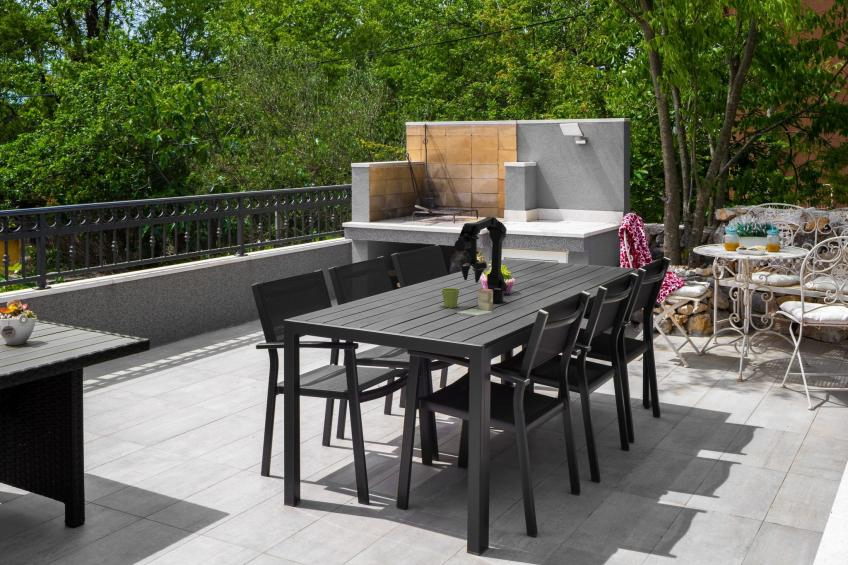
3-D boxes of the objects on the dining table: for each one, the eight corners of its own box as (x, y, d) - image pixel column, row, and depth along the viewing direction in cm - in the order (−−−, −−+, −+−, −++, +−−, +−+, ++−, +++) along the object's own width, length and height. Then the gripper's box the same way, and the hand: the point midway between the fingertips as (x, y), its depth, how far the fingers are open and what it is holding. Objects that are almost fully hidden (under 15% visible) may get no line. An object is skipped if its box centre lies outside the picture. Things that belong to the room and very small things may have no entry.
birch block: (484, 309, 460) (484, 288, 458) (492, 310, 457) (492, 289, 455) (478, 310, 456) (478, 289, 455) (486, 311, 453) (486, 290, 452)
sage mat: (471, 309, 458) (471, 308, 458) (492, 312, 450) (492, 311, 450) (456, 313, 449) (456, 312, 449) (477, 315, 441) (477, 314, 441)
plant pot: (444, 308, 460) (444, 291, 459) (438, 305, 469) (438, 288, 468) (462, 308, 463) (462, 290, 461) (456, 304, 472) (456, 287, 470)
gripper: (446, 248, 457) (446, 280, 459) (468, 252, 441) (468, 285, 444) (465, 247, 463) (465, 278, 465) (487, 250, 447) (487, 283, 450)
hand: (471, 281), depth 456 cm, fingers open, 9 cm apart
